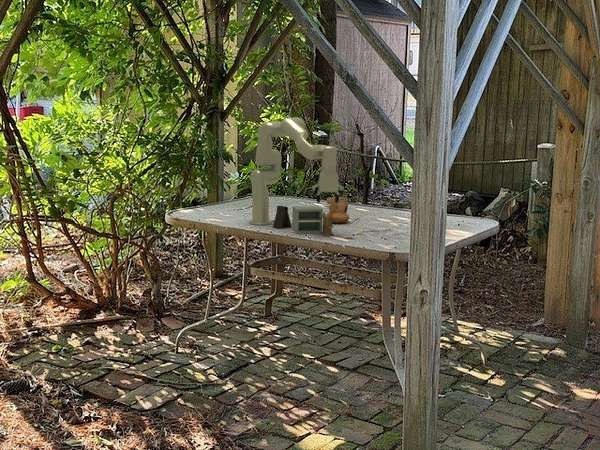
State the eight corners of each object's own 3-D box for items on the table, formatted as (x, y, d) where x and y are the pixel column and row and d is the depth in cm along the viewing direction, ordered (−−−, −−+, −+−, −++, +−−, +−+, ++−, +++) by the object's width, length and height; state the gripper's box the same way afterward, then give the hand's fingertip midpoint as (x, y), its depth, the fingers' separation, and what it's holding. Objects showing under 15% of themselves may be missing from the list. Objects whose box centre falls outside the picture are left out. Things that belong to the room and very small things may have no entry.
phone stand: (280, 229, 419) (280, 207, 417) (272, 227, 423) (272, 206, 422) (291, 227, 426) (292, 206, 424) (284, 226, 430) (284, 204, 428)
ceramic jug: (336, 225, 434) (336, 200, 431) (317, 222, 443) (318, 198, 441) (356, 222, 446) (357, 198, 444) (338, 219, 456) (338, 196, 454)
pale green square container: (292, 230, 417) (292, 206, 415) (324, 229, 420) (324, 205, 418) (300, 236, 395) (300, 212, 393) (333, 236, 399) (334, 211, 397)
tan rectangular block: (326, 236, 398) (326, 217, 397) (322, 233, 406) (323, 215, 404) (333, 236, 399) (333, 217, 397) (329, 233, 407) (330, 215, 405)
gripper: (313, 170, 392) (312, 203, 395) (346, 171, 395) (345, 203, 398) (310, 169, 399) (309, 201, 402) (343, 169, 402) (341, 201, 405)
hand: (327, 202), depth 400 cm, fingers open, 9 cm apart
